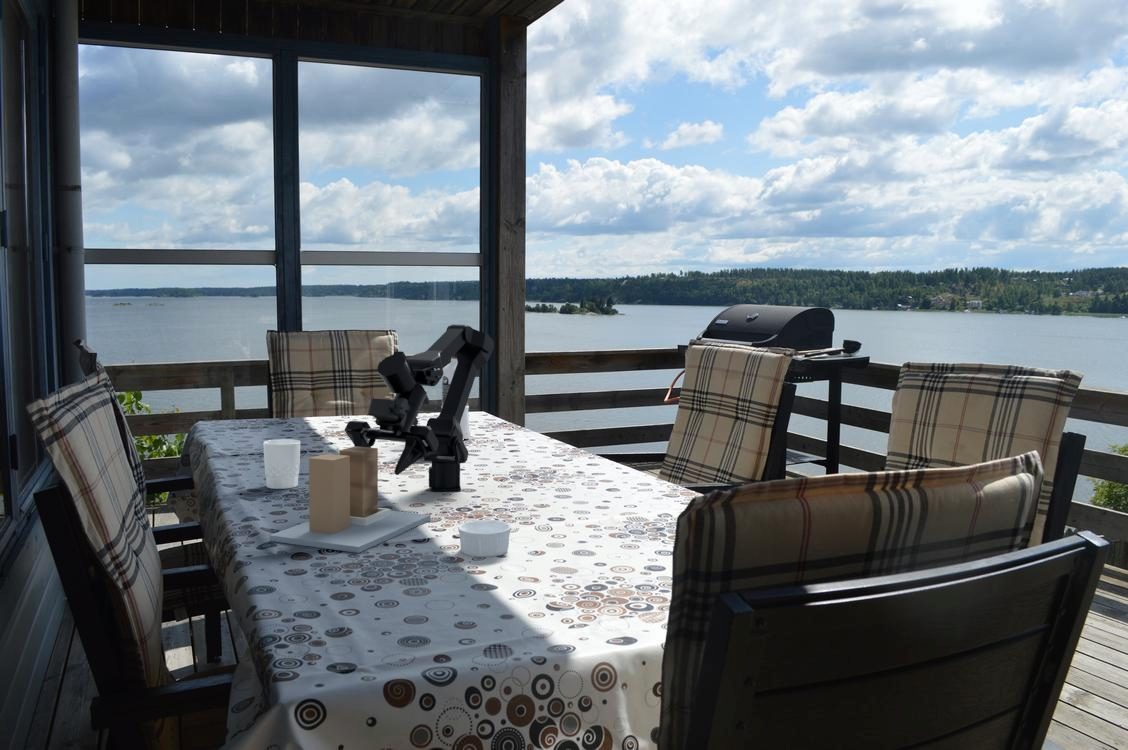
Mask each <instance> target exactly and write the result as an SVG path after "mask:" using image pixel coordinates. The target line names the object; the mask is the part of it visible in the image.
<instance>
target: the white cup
mask: <svg viewBox="0 0 1128 750" xmlns="http://www.w3.org/2000/svg"><path fill="white" fill-rule="evenodd" d="M262 445H263V463H264V474H265V479H266V480H265V483H266V485H265V486H266V487H267V488H268V489H272V490H273V489H275V490H284V489H285V490H287V489H292V488H293V489H294V488H295V487H297V486H299V474H300V465H301V464H300V463H301V461H300V460H301V457H300V456H301V440H299V439H291V438H281V439H280V438H279V439H269V440H265V441H263V444H262Z"/></svg>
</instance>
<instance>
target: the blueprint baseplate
mask: <svg viewBox="0 0 1128 750" xmlns="http://www.w3.org/2000/svg"><path fill="white" fill-rule="evenodd" d="M308 497H309V498H308V501H309V503H308V506H309V507H308V512H309V513H308V514H309V515H308V517H309V520H307V521H306V522H302V523H300V524H296V525H294V526H291V527H288V528H286V529H283V530H280V531H278V532H275V533H273V534H269V542H274V541H275V542H276V543H281V544H282V543H283V544H284V543H285V544H290V545H298V546H306V547H313V548H318V549H319V548H320V549H326V550H327V549H328V550H335V551H341V552H350V553H355V554H356V553H357V554H360V553H361V552H363V551H366V550H368V549H371V548H373V547H375V546H377V545H379V544H382V543H385V542H386V541H388V540H390V539H393V538H395V537H397V536H399V535H402V534H404V533H405V531H406V532H408V531H410V530H412V529H414V527H415V528H417V527H419V526H421V525H424V524H425V523H427V522H430V521H431V514H426V513H425V514H424V513H423V514H422V513H416V512H415V513H414V512H405V511H397V510H392V509H390V508H385V507H384V508H383V507H378V513H375V514H373V515H370V516H368V517H365V518H362V517H353V516H350V456H346V455H339V454H336V453H335V454H334V453H324V454H320V455H317V456H316V455H315V456H312V457H309V458H308ZM416 526H417V527H416ZM411 528H412V529H411ZM409 529H410V530H409ZM407 530H408V531H407ZM403 532H404V533H403Z"/></svg>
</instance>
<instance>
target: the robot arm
mask: <svg viewBox="0 0 1128 750" xmlns="http://www.w3.org/2000/svg"><path fill="white" fill-rule="evenodd" d="M494 348H495V342H494V340H493V338H492V337H490V334H488V333H485V332H482V331H480V330H477V329H474V328H473V327H472V326H470V325H468V324H451V325H448V326H447V327H446V330H445V331H444V333H443V334H441V335H440V337H438V338H437V340H435V342H433V344H432V345H431V346H430V347H429V348H428V349H426V350H425V351H423V352H419V353H415V354H413V355H412V356H410V357H408V358H407V356H406V354H405V352H404V351H401V350H400V351H399V350H398V351H397V350H395V351H394V352H393V353H392V355H388V356H386V357H385V358H384V359H382V360H381V361H379V363H378V365H377V369H376V371H377V372H378V374H379V375H380V377H381V379H382V380H383V382H384V384H385V385H386V387H387V389H388V390H389V392H390V393H392V394H395V395H394V398H393V400H391V399H385V398H371V399H370V403H369V408H368V412H367V415H368V416H371V417H373V418H374V419H375V420H374V422H375V424H376V425H377V426H379V428H372V427H371V426H370V424H369V422H368V421H363V420H362V421H361V420H349V421H348V422H347V423H346V426H345V428H344V433H345V434H346V435H347V436H348V438H349V439H350V440H351V442H352V443H353V447H354V446H357V447H369V448H372V447H373V446H374V445H375V443H376V440H381V441H390V442H396V443H397V442H398V443H405V444H404V447H403V450H402V452H401V455H400V457H399V459H398V461H397V464H396V465H395V469H394V474H395V475H396V476H399V475H400V474H401V473H403V472H404V471H405V470H406V469H408V468H409V467H410V466H412V465H413V464H415V463H416V462H417V461H420V460H419V459H420V458H422V457H424V460H423V461H424V462H431V466H429V467H428V487H429V488H430V491H431V492H448V491H449V492H453V491H455V492H456V491H457V492H459V491H461V490H462V488H461V464H467V462H468V458H469V451H468V449H467V446H466V445H465V443H464V440H462V439H463V433H462V430H461V427H460V422H461V419H462V416H463V413H464V410H465V407H466V404H467V401H468V402H469V398H470V394H471V391H472V388H473V385H474V382H475V379H476V376H477V373H478V371H479V370H480V369H481V368H482V367H484V366H485V365H487V364H488V361H489V360H490V358H491V355H492V354H493V351H494V350H495V349H494ZM455 354H456V358H457V361H458V363H457V366H456V369H455V372H454V375H453V378H452V380H451V383H450V386H449V389H448V392H447V395H446V398H445V401H444V403H443V406H442V405H441V406H442V408H441V409H440V413H439V414H438V416H436V417H429V419H428V420H427V421H426V425H421V424H419V422H420V421H419V420H418V418H417V416H418V415H419V413H420V410H421V408H422V406H423V405H429V404H430V399H429V397H428V395H427V391H426V390H425V388H424V387H435V386H437V385H438V384H439V382H441V381H440V380H442V376H443V374H444V373H443V368H444V367H445V366H446V364H447V363H448V362H449V361H451V358H452V357H453V356H454V355H455ZM418 424H419V425H418Z"/></svg>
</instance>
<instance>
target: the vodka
mask: <svg viewBox="0 0 1128 750" xmlns="http://www.w3.org/2000/svg"><path fill="white" fill-rule="evenodd" d="M457 363H458V361H457V358H456V354H455V355H454V356H453V357H452V358H451V359H450V363H448V364H447V365H444V367H443V373H444V374H443V376H442V377H441V381H440V382H441V409H442V406H443V403H444V401H445V398H446V395H447V392H448V389H449V386H450V383H451V380H452V378H453V375H454V372H455V369H456V366H457ZM469 408H470V406H469V400H468V401H467V404H466V407H465V410H464V413H463V416H462V419H461V422H460V427H461V430H462V433H463V439H467V440H468V439H470V437H471V429H470V422H469ZM463 439H462V441H464V440H463Z"/></svg>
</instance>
